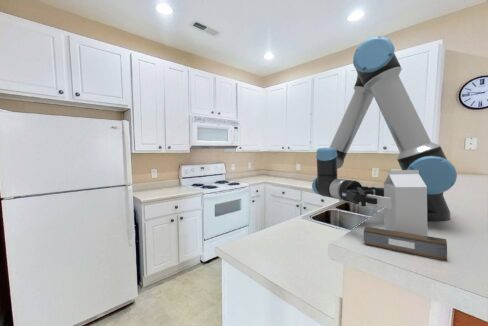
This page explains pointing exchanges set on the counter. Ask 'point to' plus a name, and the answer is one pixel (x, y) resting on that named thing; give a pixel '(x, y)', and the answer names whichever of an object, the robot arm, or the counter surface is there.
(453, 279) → the counter surface
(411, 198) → the milk carton
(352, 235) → the counter surface
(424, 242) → the price rail
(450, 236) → the counter surface
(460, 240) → the counter surface
